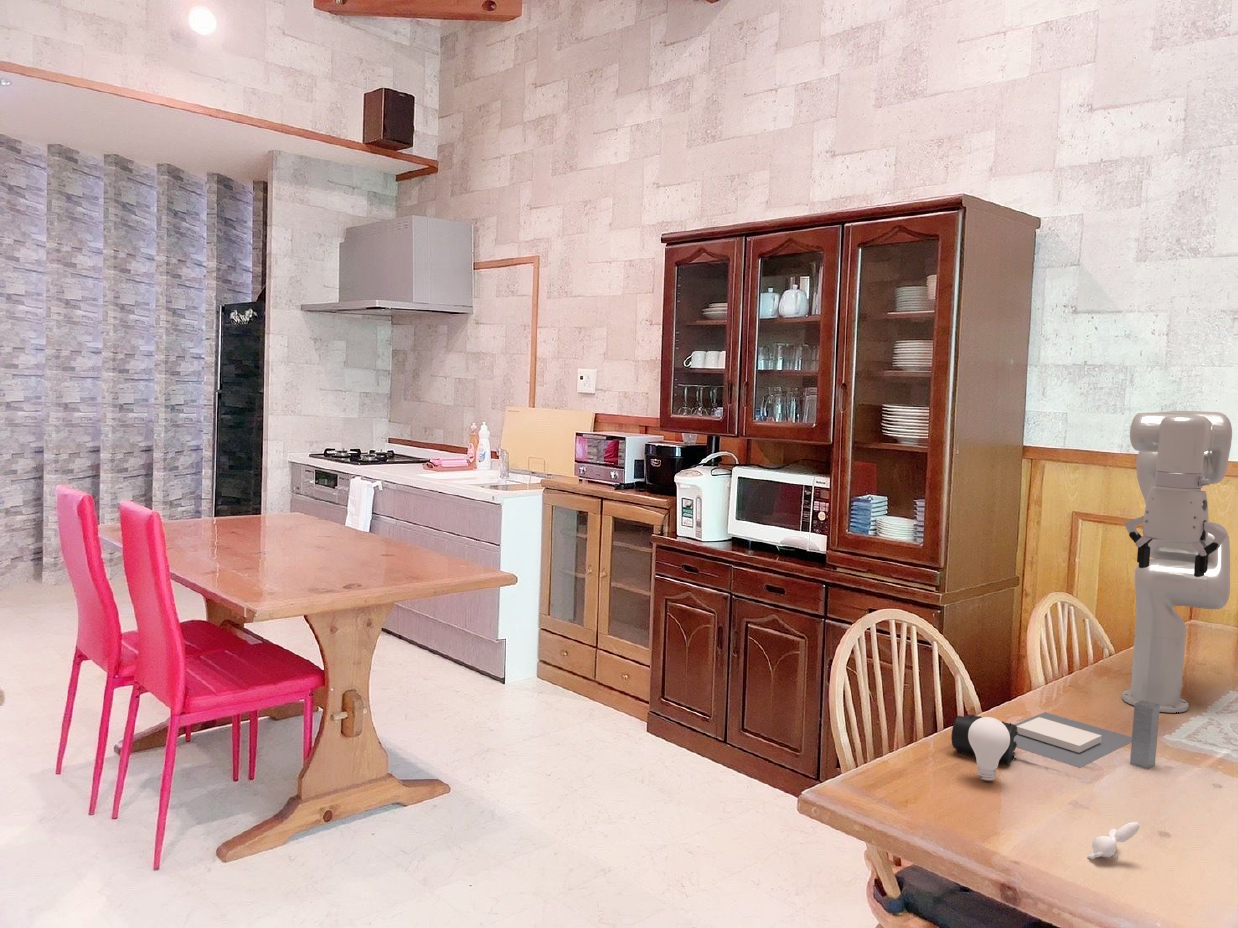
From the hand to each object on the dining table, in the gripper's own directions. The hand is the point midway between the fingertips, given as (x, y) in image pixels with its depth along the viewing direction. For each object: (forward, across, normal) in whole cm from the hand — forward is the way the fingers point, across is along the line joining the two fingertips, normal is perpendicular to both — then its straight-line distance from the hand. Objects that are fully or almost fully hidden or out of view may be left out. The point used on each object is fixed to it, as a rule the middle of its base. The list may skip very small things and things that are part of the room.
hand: (1170, 571), depth 179 cm
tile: (+32, +11, +13) cm, 36 cm away
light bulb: (+34, +10, +45) cm, 57 cm away
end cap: (+34, +16, +35) cm, 51 cm away
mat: (+33, +11, +16) cm, 39 cm away
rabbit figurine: (+34, -15, +55) cm, 66 cm away
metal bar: (+33, -4, +17) cm, 38 cm away
